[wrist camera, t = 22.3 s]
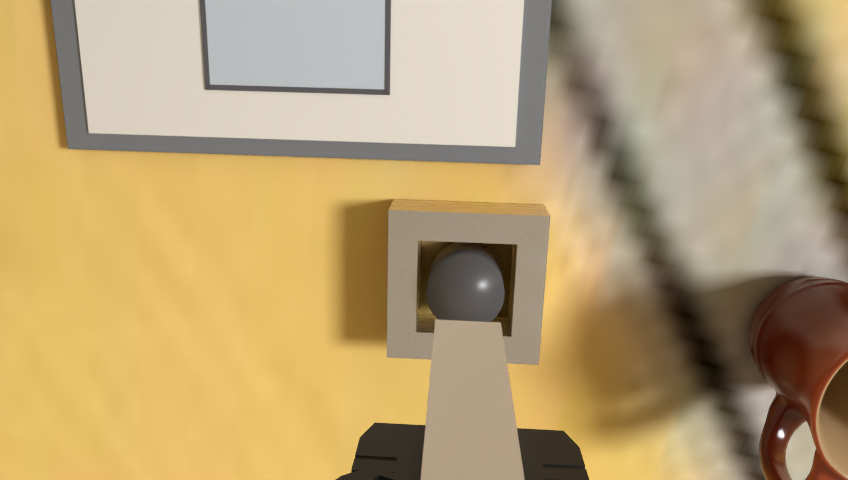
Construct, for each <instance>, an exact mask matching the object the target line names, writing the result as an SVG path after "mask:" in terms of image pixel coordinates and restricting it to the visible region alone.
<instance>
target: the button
mask: <svg viewBox="0 0 848 480" xmlns="http://www.w3.org/2000/svg"><path fill="white" fill-rule="evenodd" d="M426 293H427V302H428V305H429V307H430V309H431V311H432V313H433V314H434V316H435V317H436V318H437V319H438V320H456V321H478V322H491V321H492V320H493V319H494V318H495V317H496V316H497V315H498V313H499V312H500V310H501V308H502V306H503V302H504V297H505V290H504V284H503V278H502V272H501V267H500V264H499V262H498V260H497V258H496V257H495V255H494V254H493V253H492V252H491V251H490V250H489V249H487V248H486V247H485V246H483V245H481V244H478V243H468V242H456V243H453V244H450V245H448V246H446V247H445V248H443V249H442V250H441V251H440V252H439V253H438V254H437V255H436V257H435V258H434V260H433V262H432V264H431V267H430V272H429V278H428V284H427V292H426Z"/></svg>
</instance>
